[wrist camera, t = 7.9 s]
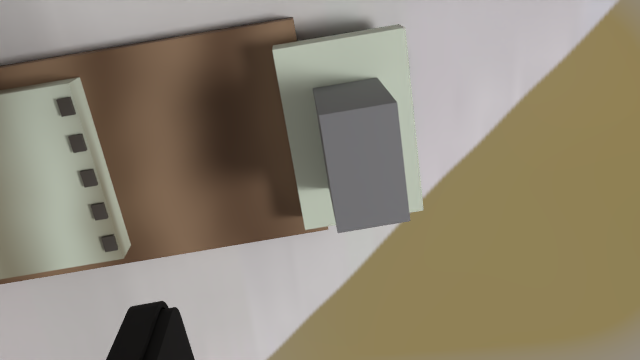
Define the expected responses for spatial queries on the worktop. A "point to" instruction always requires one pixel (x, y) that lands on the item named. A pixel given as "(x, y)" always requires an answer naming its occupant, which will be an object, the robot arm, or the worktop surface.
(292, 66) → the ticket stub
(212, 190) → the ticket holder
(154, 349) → the robot arm
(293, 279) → the worktop surface
